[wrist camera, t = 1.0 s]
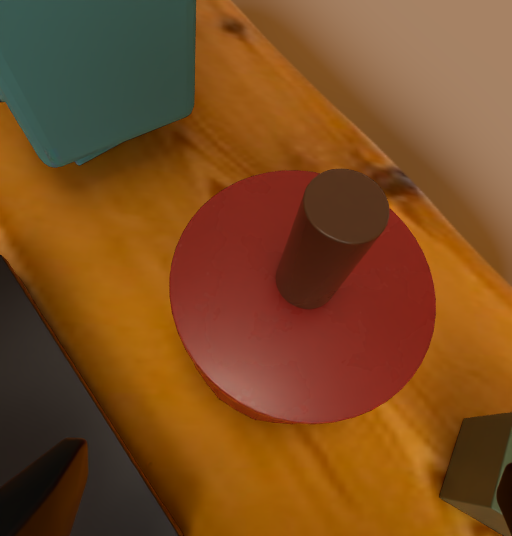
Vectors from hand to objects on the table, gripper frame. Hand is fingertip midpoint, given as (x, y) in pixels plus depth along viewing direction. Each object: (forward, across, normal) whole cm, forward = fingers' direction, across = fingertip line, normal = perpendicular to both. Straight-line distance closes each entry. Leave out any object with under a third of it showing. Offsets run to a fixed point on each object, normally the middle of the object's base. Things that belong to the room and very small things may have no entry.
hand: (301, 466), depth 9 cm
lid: (+10, -1, 0) cm, 10 cm away
